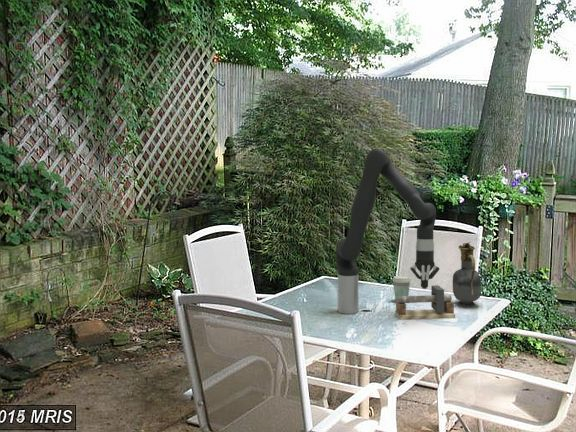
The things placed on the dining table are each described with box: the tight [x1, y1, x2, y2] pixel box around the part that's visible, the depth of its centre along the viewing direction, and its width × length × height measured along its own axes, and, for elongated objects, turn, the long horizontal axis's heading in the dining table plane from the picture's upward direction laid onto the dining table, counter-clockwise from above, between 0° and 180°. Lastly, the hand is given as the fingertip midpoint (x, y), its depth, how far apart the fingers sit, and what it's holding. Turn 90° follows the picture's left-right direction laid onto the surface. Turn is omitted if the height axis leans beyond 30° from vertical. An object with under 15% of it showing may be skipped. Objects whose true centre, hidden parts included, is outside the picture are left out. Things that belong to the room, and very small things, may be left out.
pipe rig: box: [394, 294, 456, 321], centre depth 269 cm, size 24×10×9 cm, turn 92°
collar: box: [430, 284, 445, 312], centre depth 269 cm, size 3×9×10 cm, turn 2°
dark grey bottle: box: [452, 241, 482, 307], centre depth 284 cm, size 11×19×30 cm, turn 0°
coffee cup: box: [392, 275, 411, 303], centre depth 295 cm, size 8×8×12 cm
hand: (424, 288), depth 268 cm, fingers closed
